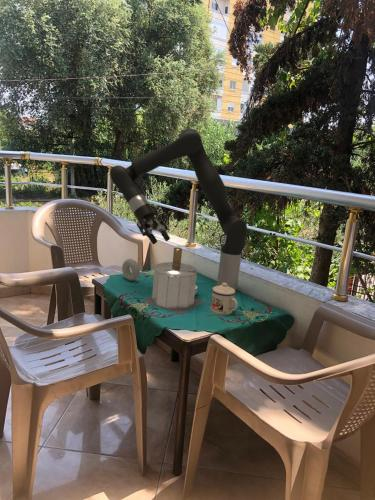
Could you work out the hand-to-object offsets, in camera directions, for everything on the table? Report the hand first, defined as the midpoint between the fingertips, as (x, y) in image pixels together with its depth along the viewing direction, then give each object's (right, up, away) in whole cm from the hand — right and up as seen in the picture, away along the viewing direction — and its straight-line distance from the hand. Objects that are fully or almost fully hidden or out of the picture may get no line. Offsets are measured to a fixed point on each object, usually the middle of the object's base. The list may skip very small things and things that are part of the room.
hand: (162, 241), depth 162 cm
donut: (-16, -17, +23) cm, 33 cm away
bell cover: (+4, -24, +2) cm, 24 cm away
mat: (+4, -24, +2) cm, 25 cm away
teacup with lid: (+24, -28, -3) cm, 37 cm away
